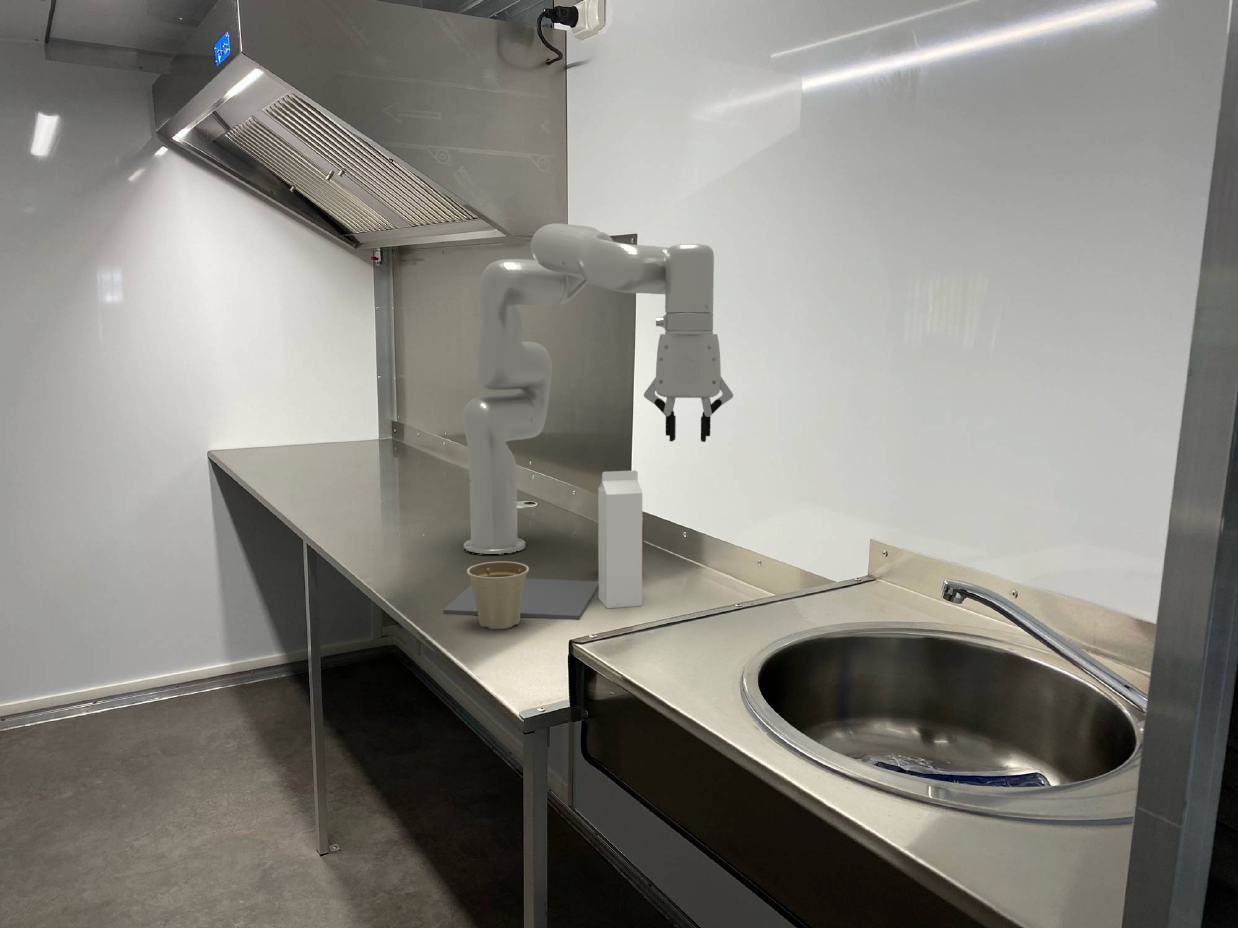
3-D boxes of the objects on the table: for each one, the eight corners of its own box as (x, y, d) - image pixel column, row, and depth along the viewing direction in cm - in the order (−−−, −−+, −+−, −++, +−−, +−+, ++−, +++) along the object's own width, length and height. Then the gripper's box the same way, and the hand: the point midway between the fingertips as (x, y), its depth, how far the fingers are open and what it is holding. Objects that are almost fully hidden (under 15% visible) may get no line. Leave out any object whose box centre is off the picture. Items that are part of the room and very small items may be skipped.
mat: (479, 580, 167) (479, 576, 167) (600, 584, 164) (600, 581, 164) (443, 613, 147) (443, 609, 147) (579, 619, 144) (579, 615, 144)
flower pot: (486, 637, 136) (485, 580, 135) (457, 621, 143) (456, 567, 142) (541, 625, 141) (540, 570, 140) (510, 610, 149) (509, 558, 148)
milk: (598, 598, 155) (597, 469, 152) (633, 596, 157) (632, 467, 154) (607, 609, 150) (605, 474, 147) (643, 606, 151) (642, 472, 148)
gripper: (632, 325, 143) (632, 442, 145) (742, 325, 140) (740, 444, 143) (638, 325, 150) (638, 437, 153) (743, 325, 148) (741, 438, 150)
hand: (687, 439), depth 148 cm, fingers open, 4 cm apart
